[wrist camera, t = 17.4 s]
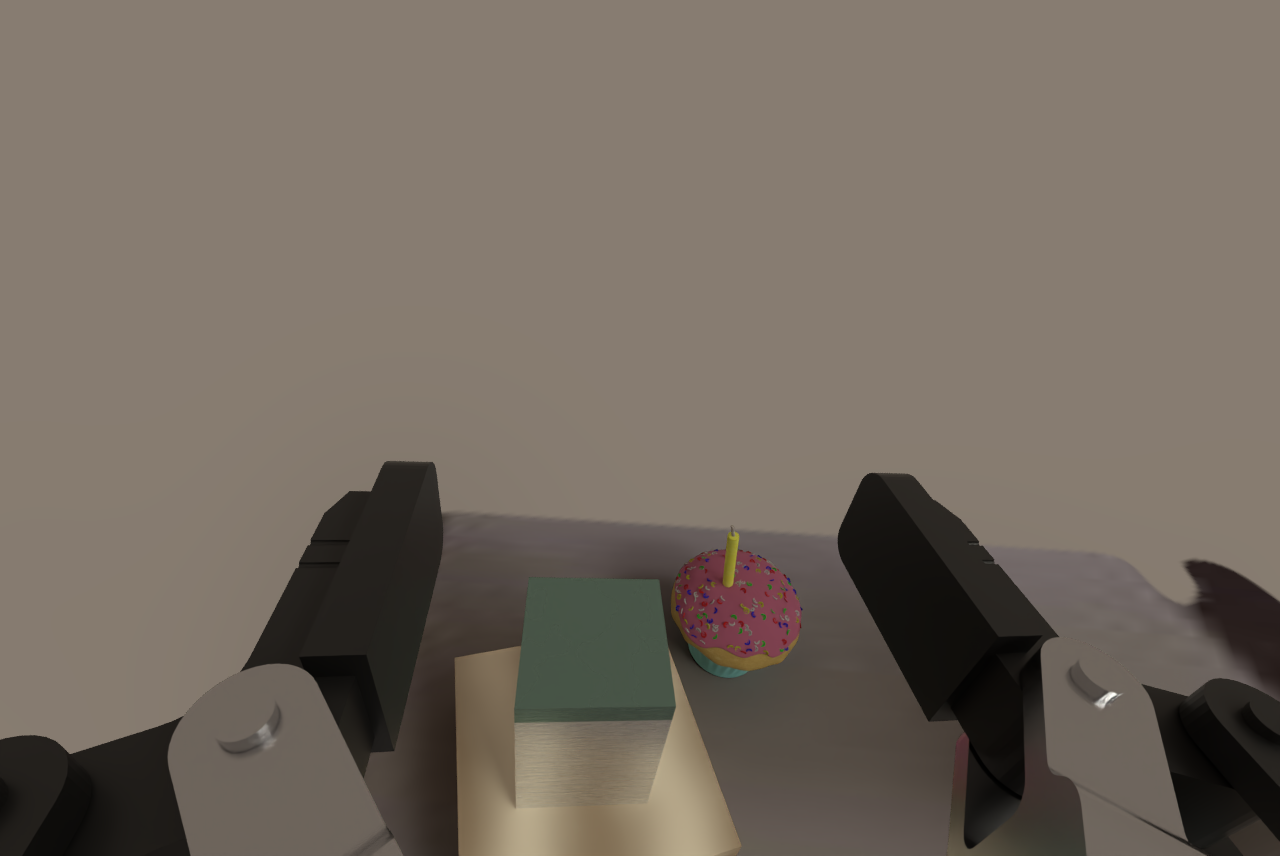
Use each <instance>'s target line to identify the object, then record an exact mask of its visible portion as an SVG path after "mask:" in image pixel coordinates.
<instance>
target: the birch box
mask: <svg viewBox="0 0 1280 856" xmlns="http://www.w3.org/2000/svg"><path fill="white" fill-rule="evenodd" d="M668 650H669V648H668ZM520 652H521V646H517V647H511V648H506V649H500V650H495V651H489V652H484V653H478V654H473V655H467V656H462V657H456V658H455V697H456V746H457V796H458V845H459V856H736V855H737V853H738V852H739V850H740V848H741V843H740V840H739V838H738V835H737V832H736V829H735V827H734V824H733V821H732V819H731V816H730V813H729V810H728V808H727V805H726V802H725V800H724V797H723V794H722V792H721V789H720V786H719V783H718V781H717V778H716V775H715V773H714V770H713V767H712V764H711V762H710V759H709V756H708V754H707V751H706V748H705V745H704V743H703V740H702V737H701V735H700V732H699V729H698V726H697V724H696V721H695V718H694V716H693V713H692V710H691V707H690V705H689V702H688V699H687V697H686V694H685V691H684V688H683V686H682V683H681V680H680V678H679V675H678V672H677V669H676V667H675V664H674V661H673V659H672V656H671V653H670V650H669V657H670V664H671V672H672V679H673V687H674V694H675V701H676V709H675V712H674V715H673V719H672V722H671V725H670V729H669V732H668V735H667V739H666V742H665V746H664V749H663V752H662V756H661V759H660V762H659V766H658V769H657V772H656V776H655V779H654V782H653V786H652V789H651V792H650V796H649V799H648V803H644V804H619V805H594V806H568V807H542V808H516V786H515V729H514V706H515V697H516V688H517V679H518V670H519V661H520Z"/></svg>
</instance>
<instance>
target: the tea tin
mask: <svg viewBox="0 0 1280 856" xmlns="http://www.w3.org/2000/svg"><path fill="white" fill-rule="evenodd" d="M675 709H676V701H675V694H674V687H673V679H672V672H671V664H670V657H669V650H668V642H667V635H666V628H665V620H664V613H663V606H662V598H661V591H660V583H659V579H601V578H543V577H529V581H528V590H527V599H526V608H525V617H524V625H523V634H522V643H521V652H520V661H519V670H518V679H517V688H516V697H515V706H514V729H515V786H516V808H542V807H568V806H594V805H619V804H644V803H648V799H649V796H650V792H651V789H652V786H653V782H654V779H655V776H656V772H657V769H658V766H659V762H660V759H661V756H662V752H663V749H664V746H665V742H666V739H667V735H668V732H669V729H670V725H671V722H672V719H673V715H674V712H675Z"/></svg>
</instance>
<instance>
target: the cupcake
mask: <svg viewBox="0 0 1280 856" xmlns="http://www.w3.org/2000/svg"><path fill="white" fill-rule="evenodd" d="M738 542H739V535H738V533H736V532H735V528H734V526H733V525H732V526H731V532H729V533H728V537H727V546H726V550H717V549H716V550H713V549H711V551H709V552H704V553H701V554H700V555H698V556H696V557H695V558H693V559H690V560H689V562H688V563H685V564H684V566H683V567H682V568H681V570H680V571H679V573H678V576H677V577H676V581H675V583H674V586H673V590H672V594H671V614H672V618H673V620H674V621H675V623H676V624H677V626H678V627H679V629H680V631H681V633H682V635H683V638H684V639H685V641H686V642H687V643H688V646H689V650H690V652H691V655H692V656H693V658H694V660H695V661H696V662H697V663H698V664H699V665H700V666H701V667H702V668H703V669H704V670H706V671H707V672H709V673H711V674H713V675H716V676H719V677H724V678H733V677H738V676H741V675H743V674H745V673H746V672H748V671H751V670H757V669H761V668H764V667H767V666H770V665H774V664H778V663H780V662H782V661H783V660H784V659H785V658H786V656H787V655H788V654H789V652H790V651H791V650H792V648H793V647H794V646H795V644H796V642H797V640H798V637H799V631H800V628H801V610H802V608H801V607H800V603H799V601H798V600H799V597H798V596H796V591H795V589H793V588H792V586H791V584H790V579H789V578H787V577H786V575H785V574H784V575H783V574H782V573H781V572H780V571H779V570H778V569H777V568H776V566H775V565H773V564H772V563H771V562H770V561H769V560H766V559H764V558H761V557H760V556H759V555H758V557H757V556H756V555H754V553H751V552H748V551H747V552H743V550H740V549H738ZM737 549H738V550H737ZM768 561H769V562H768ZM785 577H786V578H785ZM788 579H789V580H788Z"/></svg>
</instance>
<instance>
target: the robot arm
mask: <svg viewBox="0 0 1280 856" xmlns="http://www.w3.org/2000/svg"><path fill="white" fill-rule="evenodd" d="M442 546H443V523H442V515H441V507H440V499H439V491H438V482H437V474H436V468H435V465H434V463H433V462H404V461H403V462H402V461H387V462H385V463H384V465H383V466H382V468H381V470H380V473H379V475H378V478H377V479H376V482H375V484H374V486H373V489H372V491H371V492H367V491H349V492H348V493H347V494H346V495H345V496H344V497H343V498H341V499H340V500H339V501H338V502H337V503H336V504H335V505H334V506H332V507H331V508H330V509H329V510H328V511H327V512H325V513H324V515H323V517H322V519H321V521H320V523H319V525H318V527H317V529H316V531H315V533H314V534H313V537H312V538H311V544H310V545H308V546H307V548H306V550H305V552H304V554H303V556H302V558H301V560H300V562H299V568H296V569H295V571H294V573H293V575H292V577H291V579H290V581H289V583H288V585H287V587H286V589H285V590H284V593H283V594H282V597H281V598H280V600H279V602H278V604H277V606H276V608H275V610H274V612H273V614H272V616H271V618H270V620H269V621H268V624H267V625H266V627H265V629H264V631H263V633H262V635H261V637H260V639H259V641H258V643H257V645H256V646H255V648H254V651H253V652H252V654H251V656H250V658H249V660H248V661H247V663H246V664H245V666H244V667H243V669H242V670H241V671H240V673H237V674H235V675H233V676H231V677H229V678H227V679H226V680H224V681H222V682H220V683H219V684H217V685H216V686H215V687H213V688H212V689H210V690H209V691H208V692H207V693H205V694H204V695H203V696H202V697H201V698H200V699H198V700H197V701H196V702H195V703H194V705H193V706H192V707H191V708H190V709H189V710H188V711H187V712H186V714H185V715H184V716H183V717H180V718H179V719H176V720H174V721H172V722H169V723H166V724H164V725H161V726H158V727H155V728H152V729H149V730H146V731H143V732H140V733H136V734H133V735H130V736H127V737H124V738H121V739H117V740H114V741H111V742H108V743H105V744H101V745H98V746H95V747H92V748H89V749H86V750H83V751H79V752H76V753H73V754H69V753H68V752H67V751H66V750H65V749H64V748H63V747H62V746H61V745H60V744H58V743H57V742H56V741H54V740H52V739H49V738H47V737H42V736H35V735H33V736H32V735H30V736H17V737H10V738H5V739H2V740H0V856H403V854H402V852H401V850H400V848H399V846H398V844H397V842H396V840H395V838H394V837H393V835H392V833H391V832H390V831H389V830H388V828H387V826H386V824H385V822H384V820H383V819H382V817H381V815H380V812H379V810H378V808H377V806H376V804H375V802H374V800H373V798H372V796H371V794H370V792H369V790H368V788H367V786H366V784H365V782H364V779H363V778H364V775H365V771H366V767H367V764H368V760H369V756H370V753H371V752H387V751H394V750H395V745H396V741H397V737H398V733H399V729H400V725H401V721H402V717H403V713H404V709H405V704H406V700H407V696H408V692H409V688H410V684H411V680H412V676H413V672H414V667H415V663H416V659H417V655H418V651H419V647H420V643H421V639H422V635H423V631H424V626H425V622H426V618H427V614H428V610H429V606H430V602H431V598H432V594H433V589H434V585H435V581H436V577H437V573H438V569H439V565H440V560H441V555H442ZM838 550H839V554H840V557H841V560H842V562H843V564H844V566H845V567H846V569H847V571H848V573H849V575H850V577H851V578H852V580H853V582H854V584H855V586H856V588H857V590H858V591H859V593H860V595H861V597H862V599H863V601H864V603H865V604H866V606H867V608H868V610H869V612H870V614H871V616H872V617H873V619H874V621H875V623H876V625H877V627H878V629H879V630H880V632H881V634H882V636H883V638H884V640H885V642H886V643H887V645H888V647H889V649H890V651H891V653H892V654H893V656H894V658H895V660H896V662H897V664H898V666H899V667H900V669H901V671H902V673H903V675H904V677H905V679H906V680H907V682H908V684H909V686H910V688H911V690H912V692H913V693H914V695H915V697H916V699H917V701H918V703H919V705H920V706H921V708H922V710H923V712H924V714H925V716H926V718H927V719H928V721H929V722H931V721H948V720H958V721H959V723H960V725H961V726H962V728H963V730H964V732H963V733H962V734H961V735H960V736H959V738H958V740H957V744H956V752H955V765H954V777H953V789H952V802H951V814H950V827H949V839H948V849H947V855H946V856H1280V702H1279V701H1277V700H1275V699H1274V698H1272V697H1270V696H1269V695H1267V694H1265V693H1263V692H1261V691H1259V690H1258V689H1255V688H1253V687H1251V686H1249V685H1246V684H1243V683H1240V682H1238V681H1234V680H1230V679H1222V678H1218V679H1212V680H1210V681H1208V682H1207V683H1205V684H1204V685H1203V686H1202V687H1200V688H1199V689H1198V690H1196V691H1195V692H1194V693H1193V694H1191V695H1190V696H1189V697H1188V696H1184V695H1181V694H1177V693H1173V692H1169V691H1165V690H1162V689H1158V688H1154V687H1150V686H1147V685H1143V684H1141V683H1140V682H1139V681H1138V680H1137V679H1136V678H1135V676H1134V675H1133V674H1131V673H1130V672H1129V671H1128V670H1127V669H1126V668H1125V667H1124V666H1123V665H1121V664H1120V663H1119V662H1118V661H1116V660H1115V659H1114V658H1112V657H1111V656H1109V655H1108V654H1106V653H1105V652H1103V651H1101V650H1100V649H1098V648H1096V647H1094V646H1092V645H1090V644H1087V643H1085V642H1082V641H1079V640H1076V639H1072V638H1066V637H1059V636H1058V635H1057V634H1056V633H1055V631H1054V630H1053V629H1052V628H1051V627H1050V625H1049V624H1048V623H1047V622H1046V621H1045V619H1044V618H1043V617H1042V616H1041V615H1040V614H1039V612H1038V611H1037V610H1036V609H1035V608H1034V606H1033V605H1032V604H1031V603H1030V602H1029V600H1028V599H1027V598H1026V597H1025V596H1024V594H1023V593H1022V592H1021V591H1020V590H1019V588H1018V587H1017V586H1016V585H1015V584H1014V583H1013V581H1012V580H1011V579H1010V578H1009V577H1008V575H1007V574H1006V573H1005V572H1004V571H1003V569H1002V568H1001V567H1000V566H999V565H998V564H994V559H993V557H992V556H991V555H990V554H989V553H988V552H987V550H986V549H985V548H984V547H983V546H979V541H978V540H977V538H976V537H975V536H974V535H973V534H972V532H971V531H970V530H969V529H968V528H967V526H966V525H965V524H964V523H963V522H962V521H961V519H959V518H958V517H957V516H955V515H954V514H952V513H951V512H950V511H949V510H947V509H946V508H945V507H943V506H942V505H941V504H939V503H938V502H936V501H935V500H933V499H932V498H931V497H930V496H929V494H928V493H927V492H926V491H925V489H924V488H923V487H922V486H921V485H920V483H919V482H918V481H917V480H916V479H915V478H914V477H913V476H912V475H909V474H897V473H894V474H893V473H869V474H867V475H866V476H865V477H864V478H863V479H862V481H861V483H860V485H859V488H858V490H857V492H856V494H855V496H854V498H853V501H852V503H851V505H850V507H849V509H848V512H847V514H846V516H845V518H844V520H843V522H842V524H841V527H840V529H839V533H838Z"/></svg>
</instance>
